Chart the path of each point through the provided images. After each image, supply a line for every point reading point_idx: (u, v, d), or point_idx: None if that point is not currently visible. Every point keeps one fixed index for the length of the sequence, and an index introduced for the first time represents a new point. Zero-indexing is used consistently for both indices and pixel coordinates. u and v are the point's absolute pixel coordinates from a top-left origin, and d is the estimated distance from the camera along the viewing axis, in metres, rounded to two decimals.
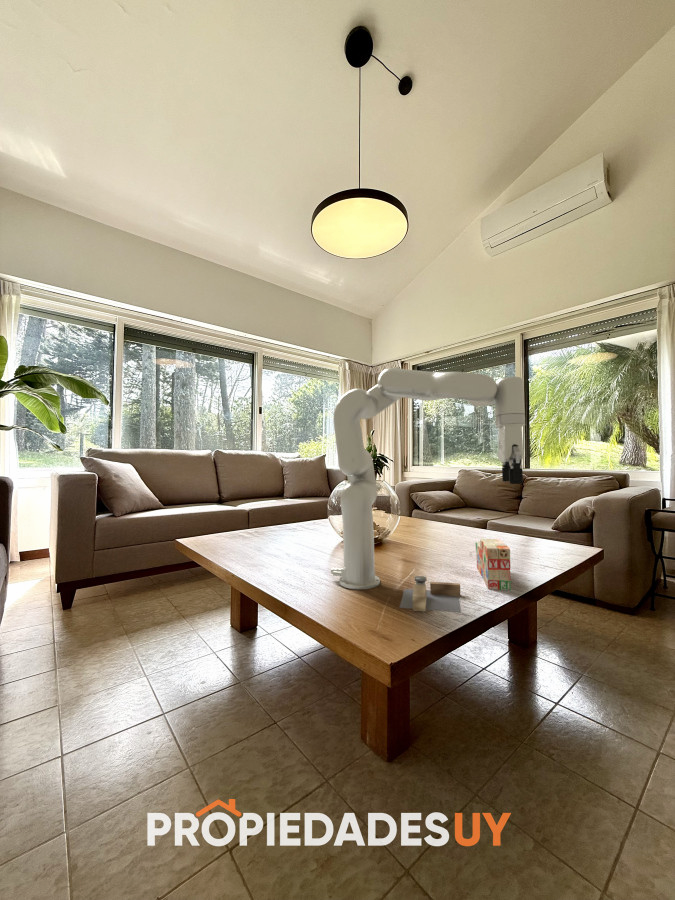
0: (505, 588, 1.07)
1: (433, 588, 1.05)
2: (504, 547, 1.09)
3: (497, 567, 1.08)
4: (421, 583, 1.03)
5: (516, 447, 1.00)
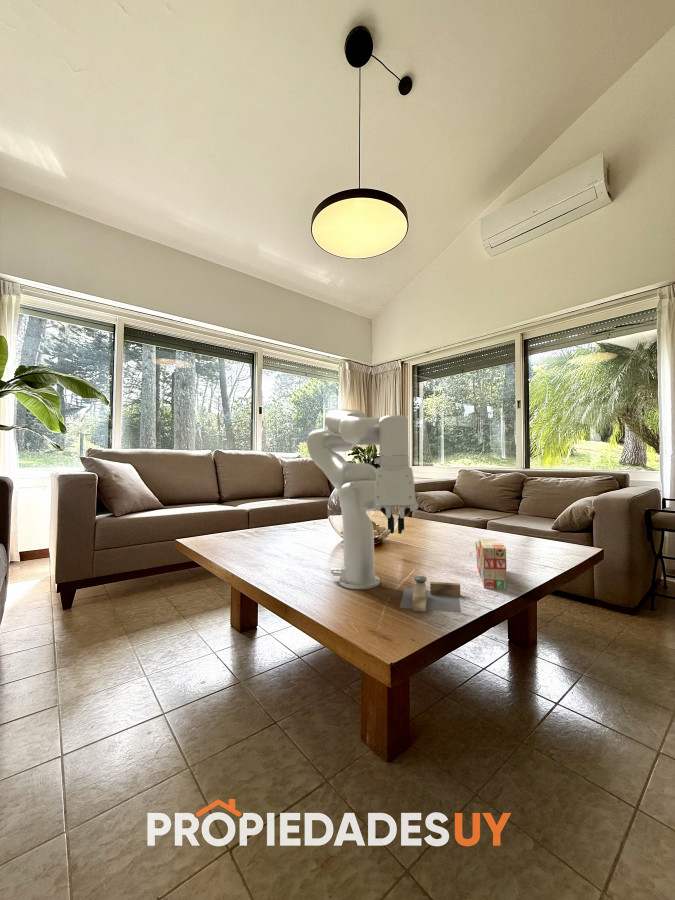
0: (501, 587, 1.08)
1: (433, 588, 1.05)
2: (500, 547, 1.09)
3: (493, 567, 1.08)
4: (421, 583, 1.03)
5: None
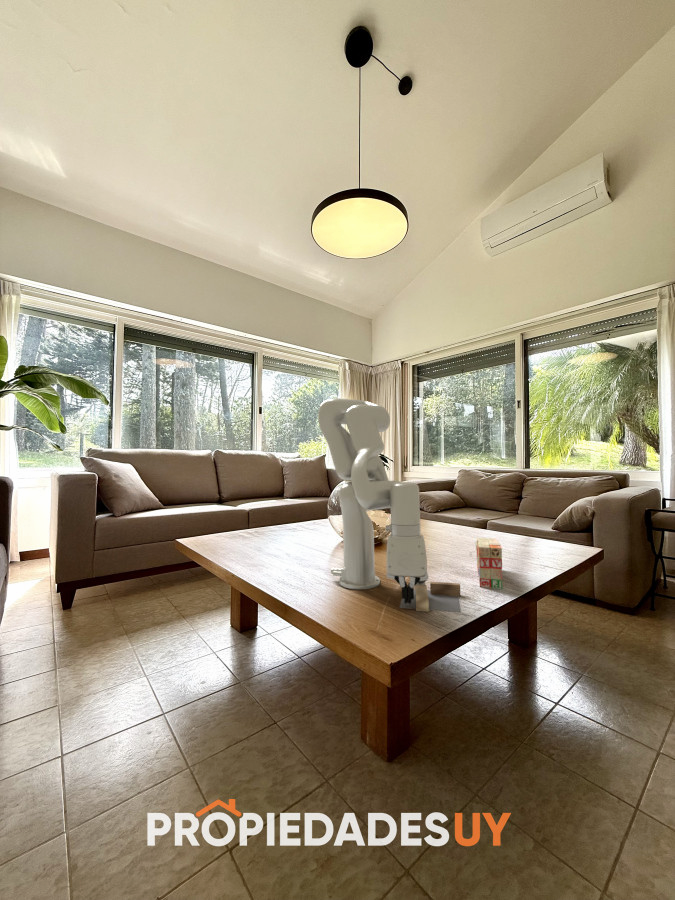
0: (497, 587, 1.08)
1: (433, 588, 1.05)
2: (496, 546, 1.10)
3: (488, 566, 1.09)
4: (421, 583, 1.03)
5: None
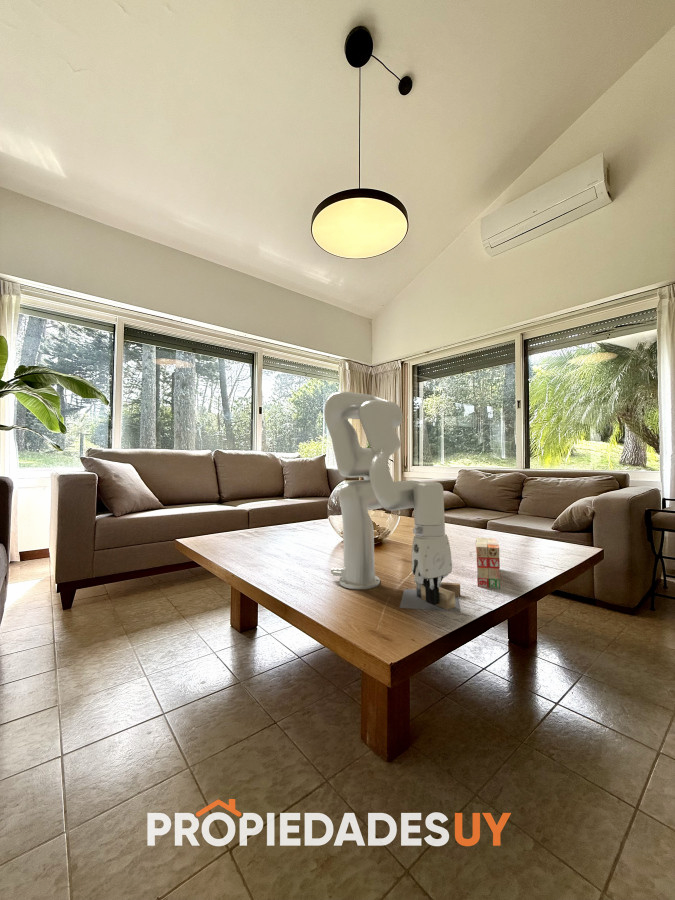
0: (494, 586, 1.09)
1: None
2: (494, 546, 1.10)
3: (486, 566, 1.10)
4: None
5: None
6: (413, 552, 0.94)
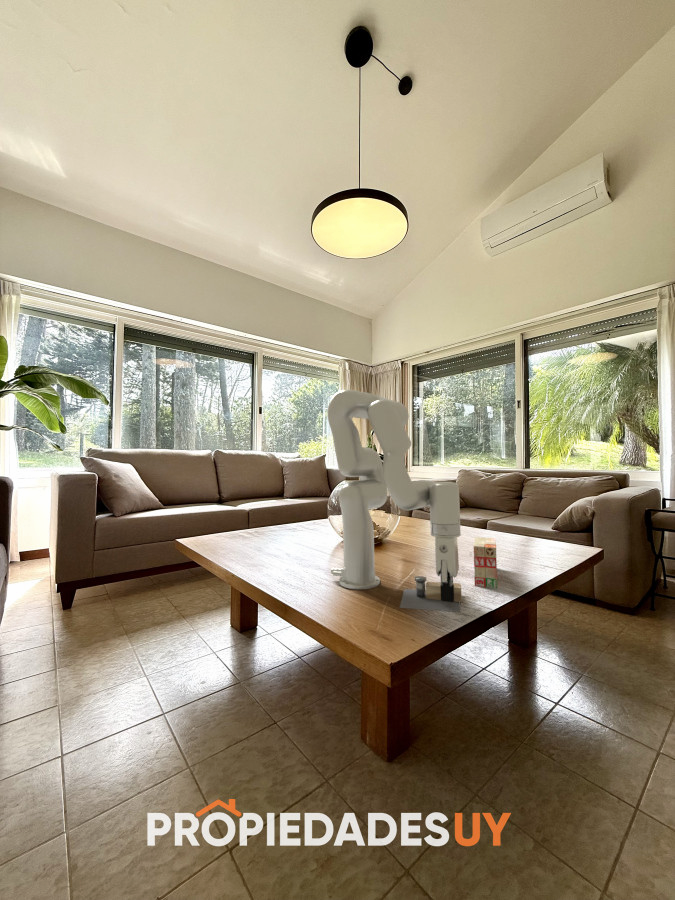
0: (491, 586, 1.09)
1: None
2: (491, 546, 1.11)
3: (483, 565, 1.10)
4: (421, 583, 1.03)
5: None
6: (439, 553, 0.94)
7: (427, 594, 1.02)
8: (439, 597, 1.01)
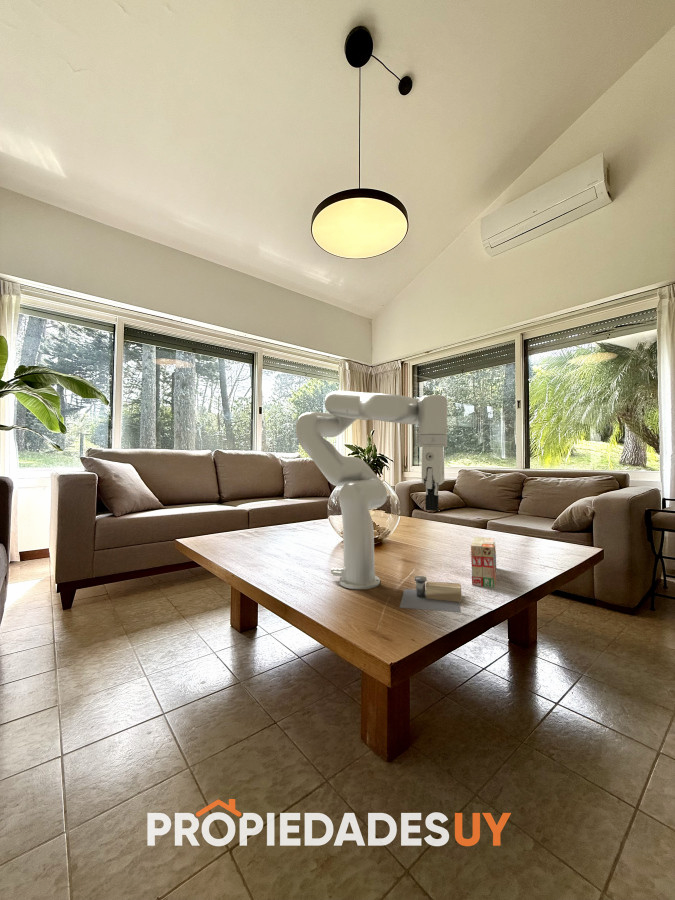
0: (488, 585, 1.10)
1: None
2: (489, 545, 1.11)
3: (480, 564, 1.11)
4: (421, 583, 1.03)
5: None
6: (425, 461, 0.97)
7: (427, 594, 1.02)
8: (439, 597, 1.01)
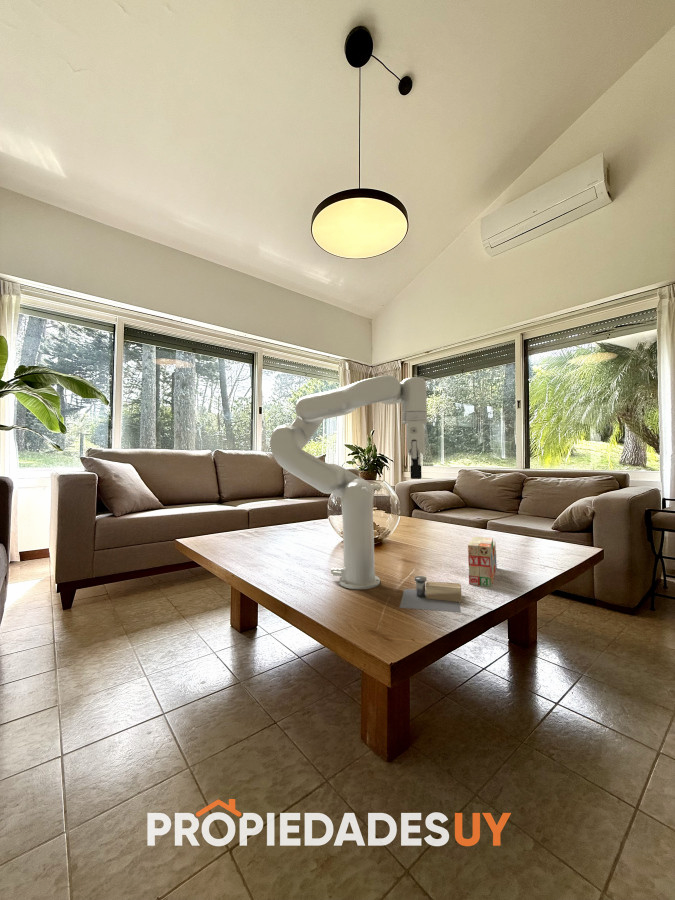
0: (485, 584, 1.11)
1: None
2: (486, 545, 1.12)
3: (477, 564, 1.12)
4: (421, 583, 1.03)
5: None
6: (410, 434, 1.10)
7: (427, 594, 1.02)
8: (439, 597, 1.01)
